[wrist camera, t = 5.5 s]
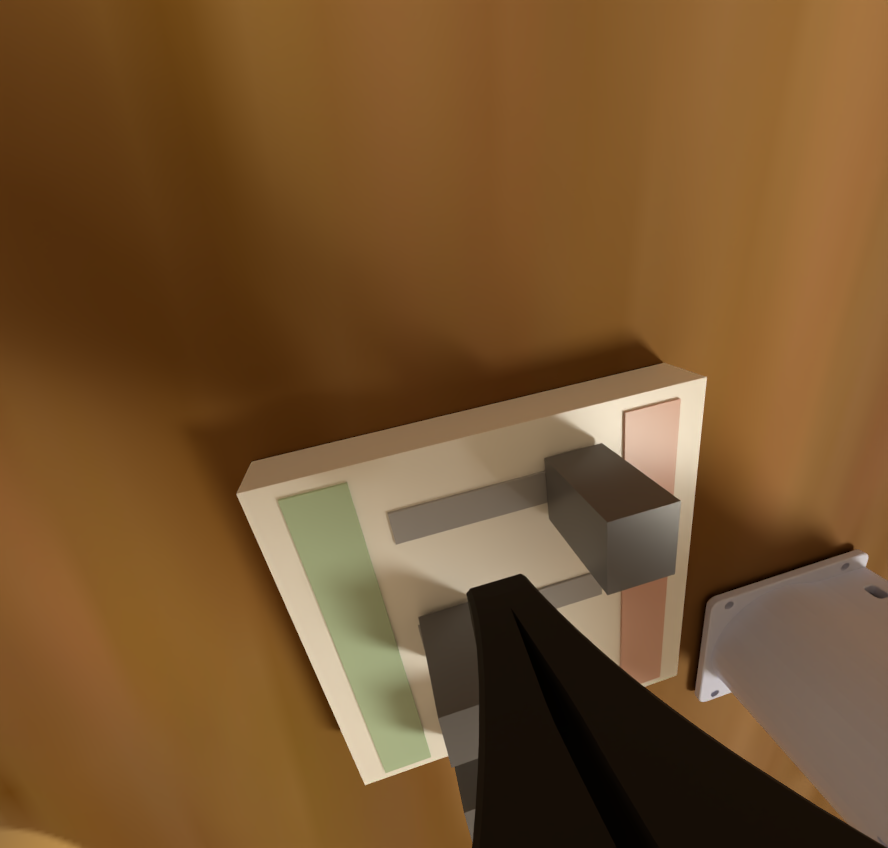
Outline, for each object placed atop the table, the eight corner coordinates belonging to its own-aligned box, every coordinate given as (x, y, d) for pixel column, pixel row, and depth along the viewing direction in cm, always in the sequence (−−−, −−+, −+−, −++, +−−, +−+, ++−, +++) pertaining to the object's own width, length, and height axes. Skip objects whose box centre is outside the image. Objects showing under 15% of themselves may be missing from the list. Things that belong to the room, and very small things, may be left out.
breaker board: (664, 363, 15) (709, 377, 13) (648, 639, 21) (678, 677, 19) (251, 461, 13) (235, 495, 11) (363, 735, 19) (365, 787, 17)
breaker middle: (472, 600, 15) (507, 695, 11) (481, 646, 16) (515, 744, 12) (418, 616, 14) (437, 718, 11) (430, 662, 15) (451, 767, 12)
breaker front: (601, 443, 13) (681, 500, 10) (602, 503, 14) (675, 574, 11) (544, 457, 13) (606, 522, 10) (548, 518, 14) (607, 595, 11)
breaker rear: (489, 689, 17) (522, 791, 14) (496, 725, 18) (528, 827, 14) (441, 705, 16) (464, 813, 13) (451, 740, 17) (474, 848, 14)
